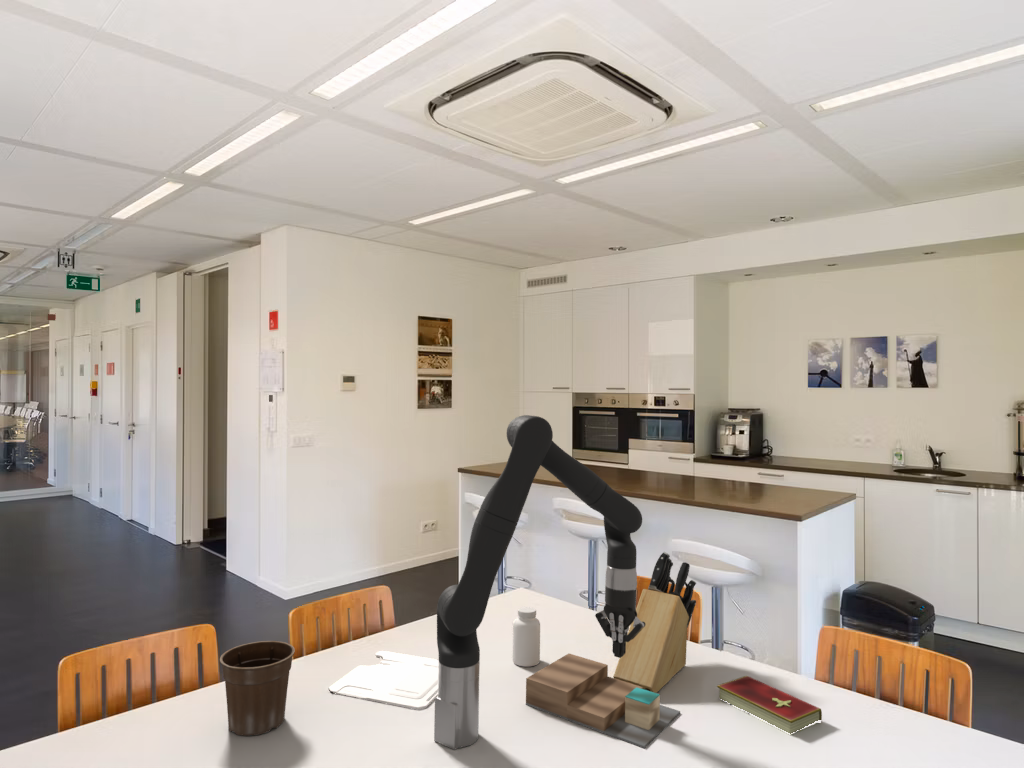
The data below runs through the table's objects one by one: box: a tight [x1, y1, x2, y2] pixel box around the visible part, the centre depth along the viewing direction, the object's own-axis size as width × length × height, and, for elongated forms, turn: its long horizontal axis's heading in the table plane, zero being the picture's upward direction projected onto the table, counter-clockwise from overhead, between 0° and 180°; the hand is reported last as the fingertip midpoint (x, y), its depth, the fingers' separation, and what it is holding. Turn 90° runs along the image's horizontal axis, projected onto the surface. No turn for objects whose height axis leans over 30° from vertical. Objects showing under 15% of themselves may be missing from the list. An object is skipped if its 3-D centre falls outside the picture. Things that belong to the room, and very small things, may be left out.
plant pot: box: [219, 640, 296, 737], centre depth 151 cm, size 16×16×16 cm
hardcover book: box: [716, 675, 823, 734], centre depth 161 cm, size 12×21×4 cm, turn 33°
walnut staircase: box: [525, 653, 681, 749], centre depth 160 cm, size 20×32×6 cm, turn 53°
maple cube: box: [625, 687, 661, 730], centre depth 154 cm, size 6×6×6 cm
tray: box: [328, 650, 439, 711], centre depth 176 cm, size 28×28×2 cm
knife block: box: [612, 551, 697, 694], centre depth 183 cm, size 11×35×31 cm, turn 145°
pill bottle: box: [511, 606, 541, 668], centre depth 188 cm, size 8×8×15 cm
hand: (619, 656), depth 158 cm, fingers closed
